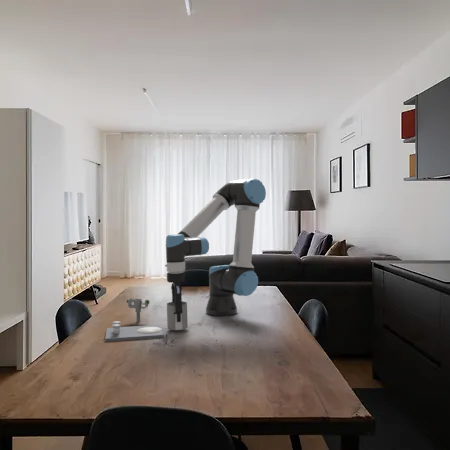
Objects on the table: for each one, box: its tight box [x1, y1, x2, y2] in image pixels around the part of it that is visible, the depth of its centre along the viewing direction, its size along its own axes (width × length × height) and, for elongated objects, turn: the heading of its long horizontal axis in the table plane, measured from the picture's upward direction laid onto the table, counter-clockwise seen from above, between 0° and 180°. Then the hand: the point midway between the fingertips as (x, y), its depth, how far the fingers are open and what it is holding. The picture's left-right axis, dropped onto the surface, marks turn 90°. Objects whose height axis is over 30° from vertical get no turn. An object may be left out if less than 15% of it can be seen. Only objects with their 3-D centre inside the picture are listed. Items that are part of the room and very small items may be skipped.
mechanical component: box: [126, 298, 150, 323], centre depth 198 cm, size 3×10×10 cm, turn 78°
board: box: [104, 320, 165, 343], centre depth 177 cm, size 22×16×5 cm
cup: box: [166, 300, 189, 331], centre depth 182 cm, size 8×8×10 cm
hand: (177, 326), depth 182 cm, fingers closed on cup, 8 cm apart
